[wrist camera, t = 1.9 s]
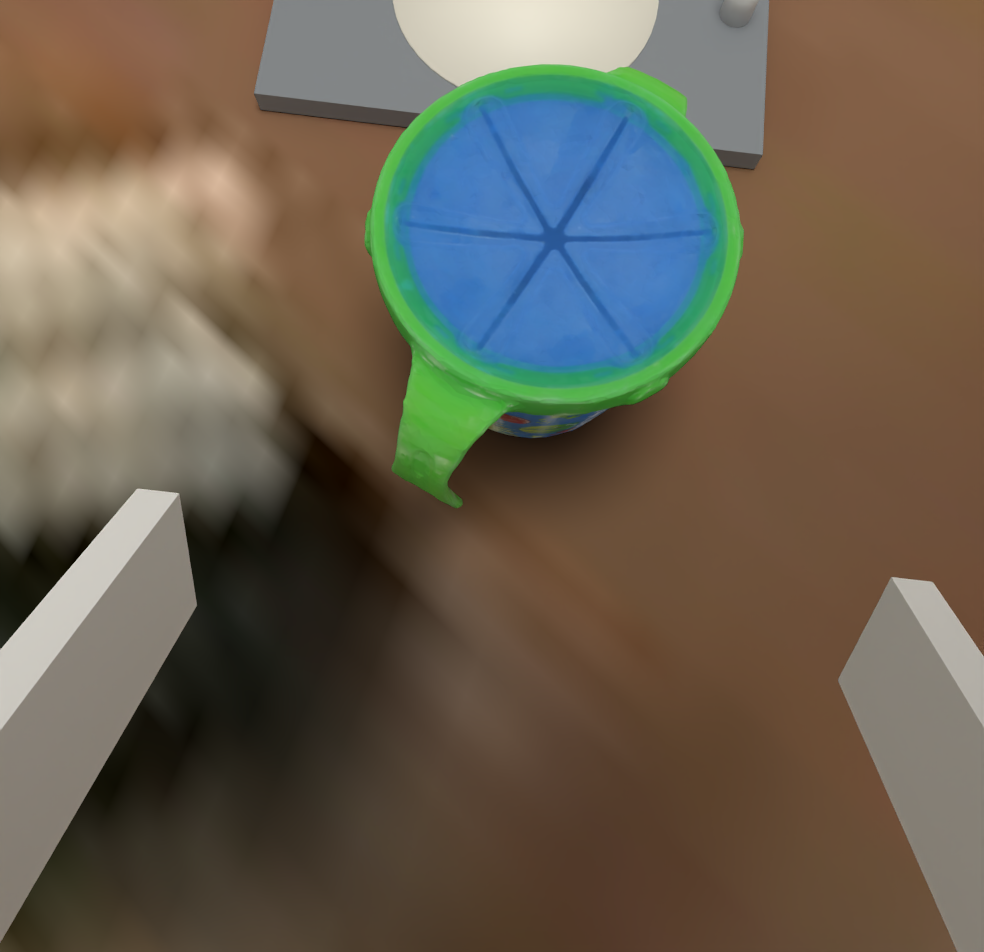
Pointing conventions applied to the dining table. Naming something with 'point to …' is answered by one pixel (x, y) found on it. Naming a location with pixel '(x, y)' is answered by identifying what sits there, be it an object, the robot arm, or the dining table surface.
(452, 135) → the snack cup
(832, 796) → the dining table surface
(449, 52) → the locating board
